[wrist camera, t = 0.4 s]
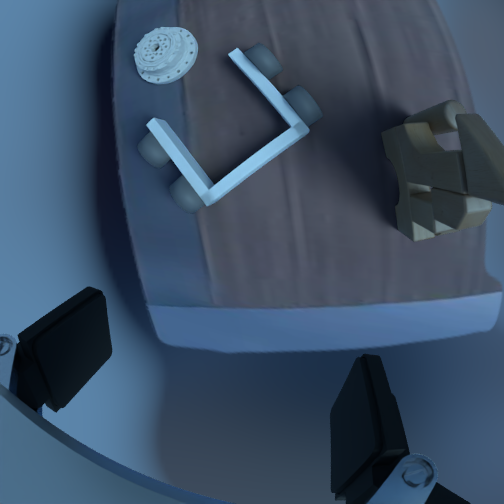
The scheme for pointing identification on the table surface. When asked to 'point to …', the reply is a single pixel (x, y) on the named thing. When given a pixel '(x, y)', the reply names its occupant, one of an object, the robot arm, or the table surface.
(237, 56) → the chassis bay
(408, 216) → the wooden toy
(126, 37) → the table surface
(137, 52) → the mechanical component
